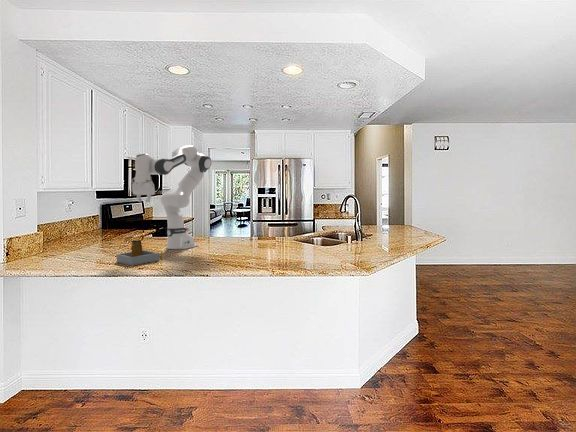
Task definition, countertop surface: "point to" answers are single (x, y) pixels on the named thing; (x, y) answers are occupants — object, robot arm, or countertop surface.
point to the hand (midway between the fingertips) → (144, 201)
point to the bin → (137, 258)
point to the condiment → (136, 248)
